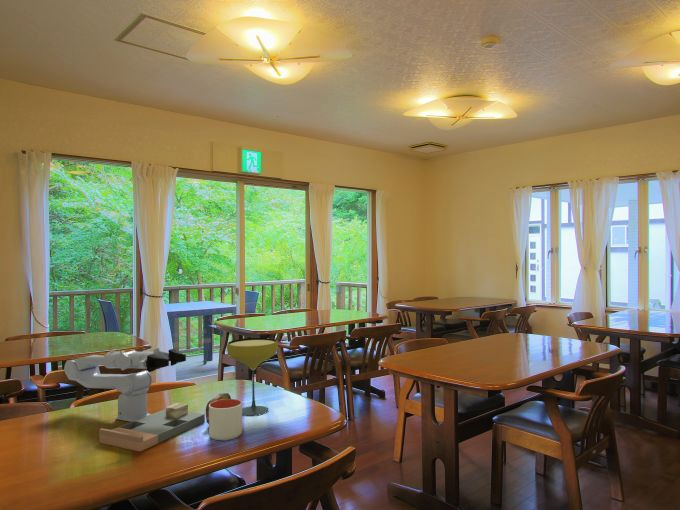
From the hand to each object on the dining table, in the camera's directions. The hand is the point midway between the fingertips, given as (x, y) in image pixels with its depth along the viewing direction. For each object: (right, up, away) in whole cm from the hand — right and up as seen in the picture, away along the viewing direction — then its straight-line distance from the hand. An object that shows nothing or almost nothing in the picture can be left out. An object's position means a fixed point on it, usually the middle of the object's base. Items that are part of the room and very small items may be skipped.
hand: (176, 360), depth 156 cm
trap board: (-5, -22, -6) cm, 23 cm away
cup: (+19, -21, -10) cm, 30 cm away
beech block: (-1, -19, +3) cm, 19 cm away
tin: (+13, -22, +4) cm, 26 cm away
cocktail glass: (+23, -22, +13) cm, 34 cm away
